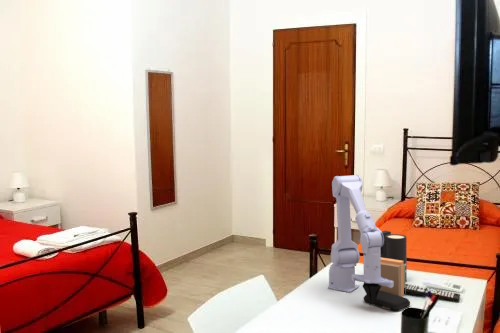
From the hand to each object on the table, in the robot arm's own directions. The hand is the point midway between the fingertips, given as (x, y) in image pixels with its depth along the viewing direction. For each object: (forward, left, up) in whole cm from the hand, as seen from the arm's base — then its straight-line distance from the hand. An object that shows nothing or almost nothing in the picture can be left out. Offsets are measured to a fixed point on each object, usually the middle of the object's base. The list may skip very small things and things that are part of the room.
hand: (372, 304), depth 177 cm
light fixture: (-7, +34, -2) cm, 34 cm away
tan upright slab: (0, +17, -1) cm, 17 cm away
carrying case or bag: (+2, +6, -2) cm, 7 cm away
